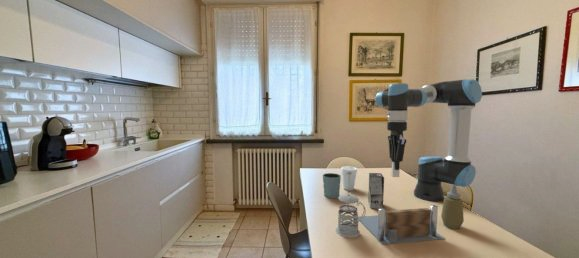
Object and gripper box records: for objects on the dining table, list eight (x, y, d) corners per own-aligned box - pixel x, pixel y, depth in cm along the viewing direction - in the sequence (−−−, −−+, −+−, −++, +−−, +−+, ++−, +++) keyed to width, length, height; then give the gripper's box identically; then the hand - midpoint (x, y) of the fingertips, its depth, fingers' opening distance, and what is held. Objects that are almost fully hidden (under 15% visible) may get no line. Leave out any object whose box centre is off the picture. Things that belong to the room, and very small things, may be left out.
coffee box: (383, 209, 122) (384, 177, 121) (369, 208, 123) (370, 176, 122) (380, 202, 131) (381, 173, 130) (367, 201, 132) (368, 172, 131)
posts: (433, 233, 98) (434, 204, 97) (440, 238, 94) (442, 208, 94) (376, 238, 94) (377, 208, 93) (381, 243, 91) (382, 212, 90)
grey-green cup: (344, 196, 140) (344, 176, 139) (331, 200, 134) (331, 178, 133) (331, 191, 148) (331, 172, 147) (318, 194, 142) (319, 174, 142)
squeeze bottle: (436, 223, 107) (438, 183, 106) (448, 220, 110) (450, 181, 109) (455, 232, 100) (457, 188, 98) (467, 228, 103) (470, 186, 101)
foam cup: (357, 191, 150) (358, 170, 148) (342, 190, 150) (343, 169, 149) (354, 186, 159) (354, 166, 158) (339, 186, 159) (340, 166, 158)
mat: (407, 213, 117) (407, 213, 117) (445, 239, 94) (445, 238, 94) (355, 217, 113) (356, 216, 113) (382, 244, 90) (382, 243, 90)
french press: (333, 225, 105) (334, 167, 103) (361, 226, 105) (362, 168, 103) (337, 237, 95) (338, 174, 93) (367, 238, 95) (369, 174, 93)
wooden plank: (426, 232, 97) (428, 207, 97) (430, 235, 96) (431, 209, 95) (384, 236, 94) (385, 210, 94) (387, 238, 93) (388, 212, 92)
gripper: (382, 120, 109) (381, 172, 111) (394, 122, 96) (392, 181, 98) (399, 120, 109) (397, 172, 111) (413, 121, 96) (411, 181, 98)
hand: (395, 176), depth 104 cm, fingers closed
